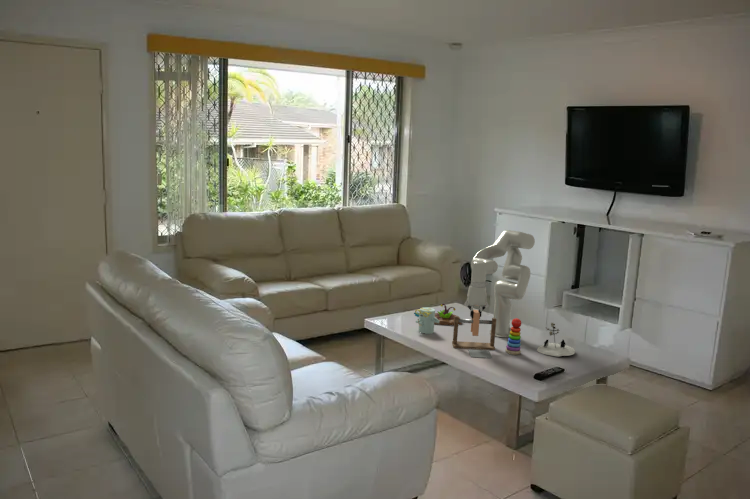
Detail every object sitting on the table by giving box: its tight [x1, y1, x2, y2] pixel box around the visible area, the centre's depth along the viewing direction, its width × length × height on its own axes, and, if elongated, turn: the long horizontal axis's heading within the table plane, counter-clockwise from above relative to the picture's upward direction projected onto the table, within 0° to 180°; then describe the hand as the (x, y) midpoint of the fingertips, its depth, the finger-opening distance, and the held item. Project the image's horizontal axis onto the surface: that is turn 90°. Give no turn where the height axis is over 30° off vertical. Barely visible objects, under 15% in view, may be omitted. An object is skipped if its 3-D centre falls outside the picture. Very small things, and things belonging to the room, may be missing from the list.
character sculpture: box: [413, 306, 440, 335], centre depth 363 cm, size 20×12×13 cm, turn 43°
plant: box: [434, 303, 463, 326], centre depth 388 cm, size 20×20×11 cm
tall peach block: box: [470, 309, 481, 337], centre depth 340 cm, size 3×8×12 cm, turn 179°
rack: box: [451, 315, 496, 351], centre depth 341 cm, size 22×8×16 cm, turn 89°
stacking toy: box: [505, 318, 522, 356], centre depth 333 cm, size 8×8×19 cm
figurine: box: [536, 322, 576, 357], centre depth 339 cm, size 20×18×16 cm
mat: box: [467, 349, 493, 359], centre depth 330 cm, size 11×11×1 cm
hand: (475, 317), depth 340 cm, fingers closed on tall peach block, 3 cm apart
